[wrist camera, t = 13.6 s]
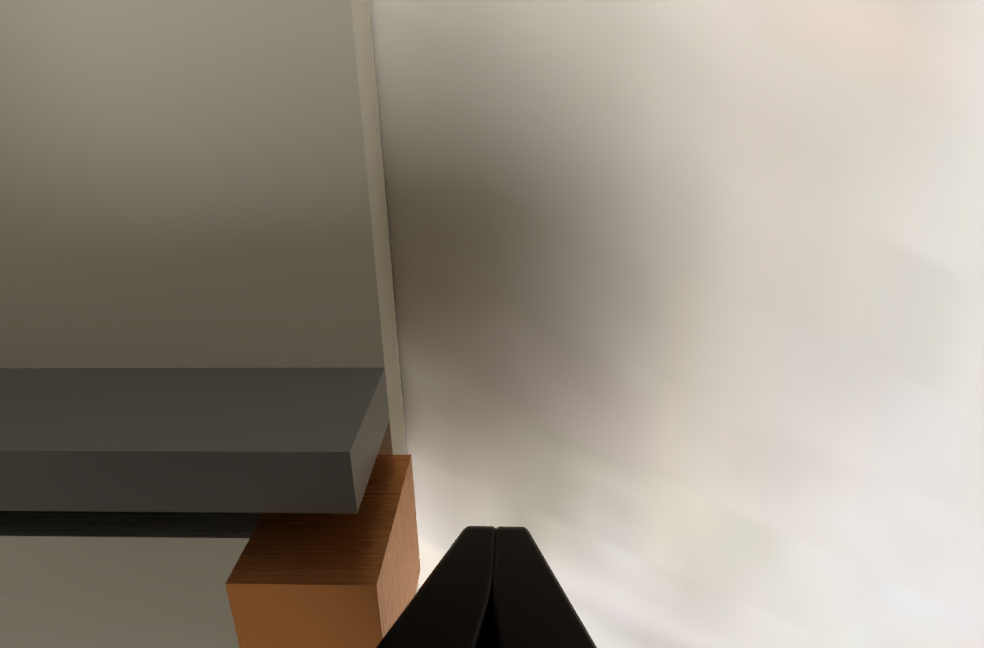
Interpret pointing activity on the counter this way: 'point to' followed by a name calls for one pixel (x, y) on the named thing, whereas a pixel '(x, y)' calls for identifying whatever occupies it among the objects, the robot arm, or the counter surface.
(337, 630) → the lock pin
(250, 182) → the dock
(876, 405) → the counter surface
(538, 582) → the robot arm
